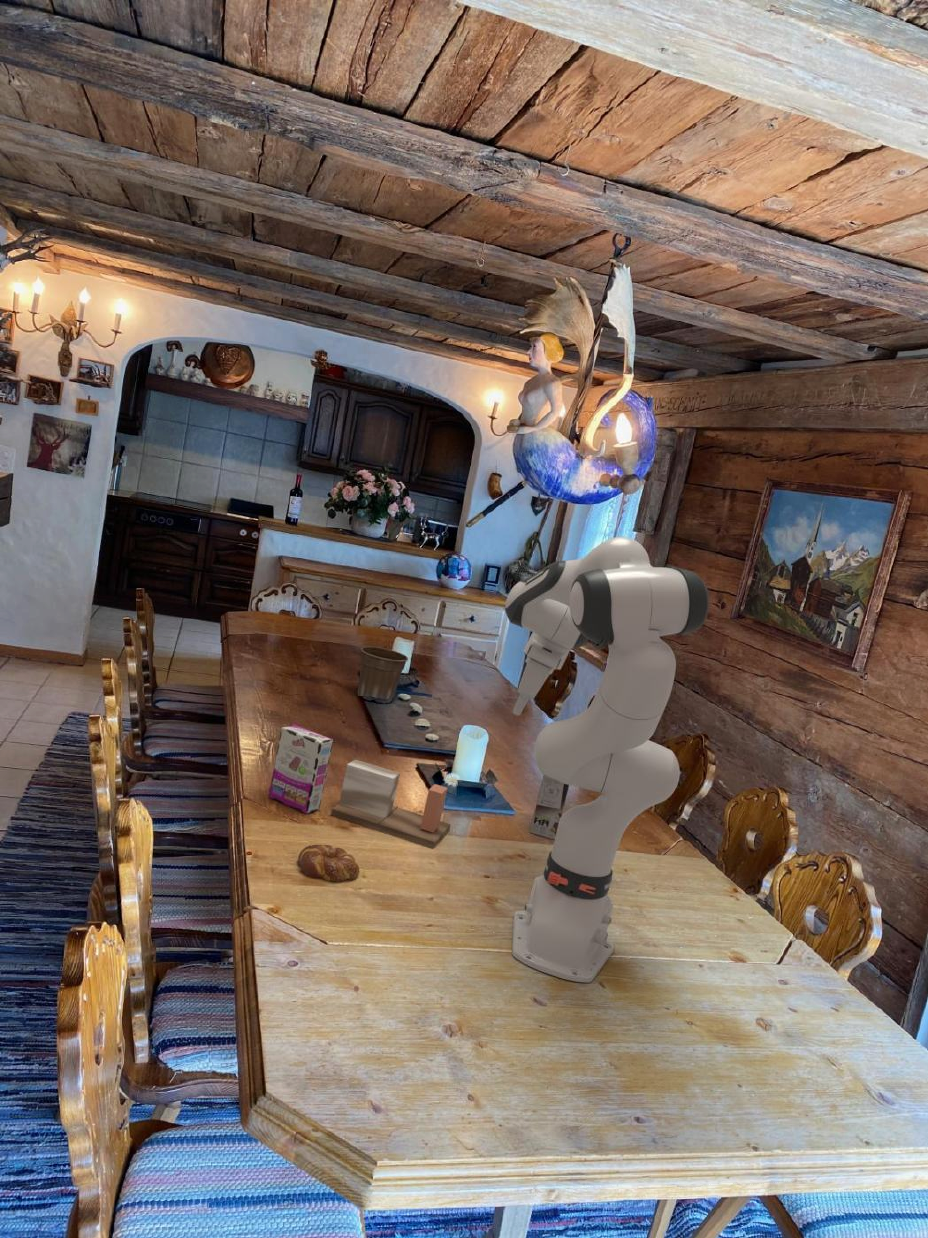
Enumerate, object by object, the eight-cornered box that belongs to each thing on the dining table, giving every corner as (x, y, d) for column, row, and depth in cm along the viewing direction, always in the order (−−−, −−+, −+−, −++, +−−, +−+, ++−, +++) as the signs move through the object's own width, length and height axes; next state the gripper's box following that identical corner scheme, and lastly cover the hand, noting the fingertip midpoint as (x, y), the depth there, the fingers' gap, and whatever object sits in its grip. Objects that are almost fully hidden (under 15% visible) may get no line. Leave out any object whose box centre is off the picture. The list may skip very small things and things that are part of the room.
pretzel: (367, 870, 166) (371, 852, 166) (344, 891, 156) (348, 873, 155) (312, 850, 169) (316, 833, 169) (286, 870, 159) (289, 852, 158)
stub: (433, 832, 185) (441, 793, 184) (420, 828, 186) (428, 789, 185) (439, 826, 190) (447, 788, 188) (426, 822, 190) (434, 784, 189)
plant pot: (408, 703, 294) (417, 658, 292) (379, 708, 280) (389, 661, 278) (371, 689, 302) (380, 645, 300) (341, 693, 288) (351, 647, 286)
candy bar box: (320, 809, 189) (335, 739, 187) (306, 815, 185) (321, 743, 182) (281, 792, 194) (294, 723, 192) (266, 797, 190) (280, 726, 187)
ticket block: (433, 848, 182) (444, 801, 180) (330, 815, 187) (340, 768, 186) (449, 830, 193) (459, 785, 192) (352, 799, 199) (361, 755, 197)
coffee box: (555, 840, 201) (571, 775, 199) (528, 833, 202) (544, 768, 200) (558, 827, 210) (574, 765, 208) (533, 820, 211) (548, 758, 209)
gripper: (532, 645, 194) (506, 700, 195) (530, 648, 174) (500, 710, 174) (558, 658, 193) (531, 713, 194) (558, 662, 173) (528, 724, 174)
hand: (516, 711), depth 184 cm, fingers open, 8 cm apart
